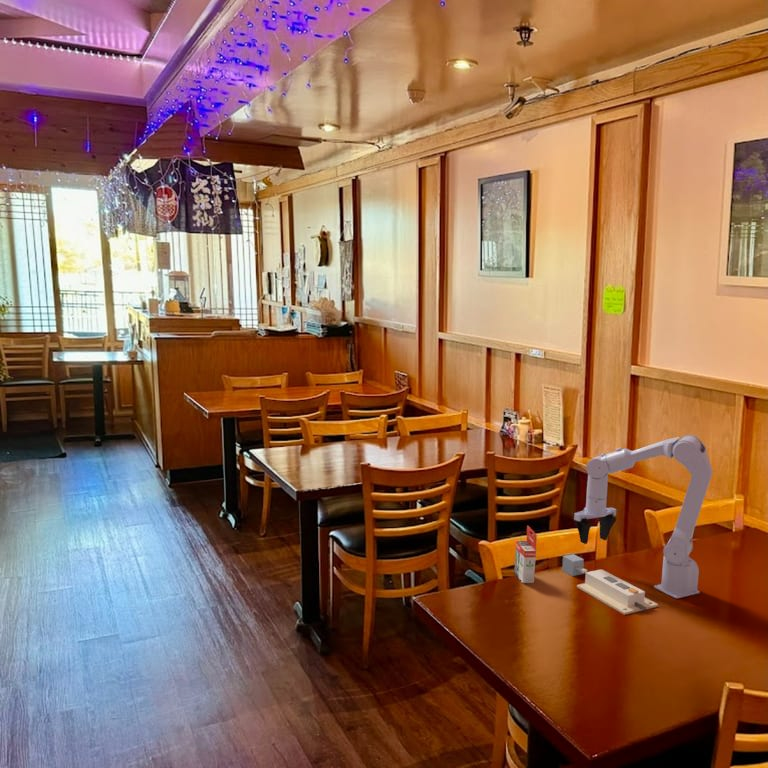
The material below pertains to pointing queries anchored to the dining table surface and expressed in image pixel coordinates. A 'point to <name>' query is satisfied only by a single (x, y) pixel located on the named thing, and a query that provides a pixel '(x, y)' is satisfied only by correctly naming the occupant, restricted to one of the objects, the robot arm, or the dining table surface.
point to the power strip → (615, 592)
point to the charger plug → (573, 565)
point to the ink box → (526, 557)
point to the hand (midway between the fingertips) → (593, 540)
